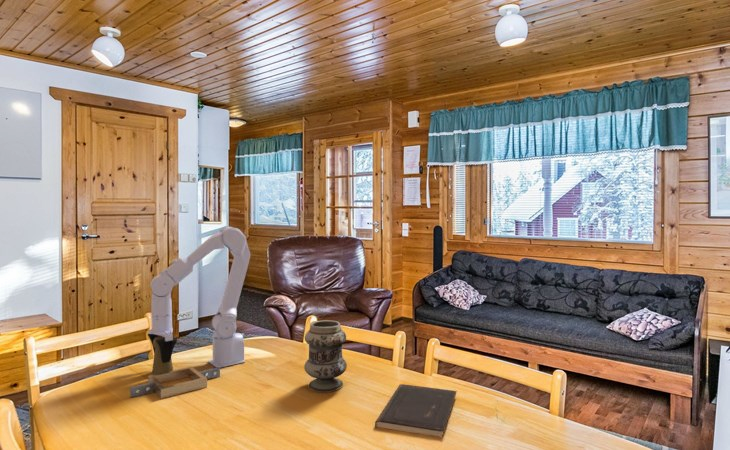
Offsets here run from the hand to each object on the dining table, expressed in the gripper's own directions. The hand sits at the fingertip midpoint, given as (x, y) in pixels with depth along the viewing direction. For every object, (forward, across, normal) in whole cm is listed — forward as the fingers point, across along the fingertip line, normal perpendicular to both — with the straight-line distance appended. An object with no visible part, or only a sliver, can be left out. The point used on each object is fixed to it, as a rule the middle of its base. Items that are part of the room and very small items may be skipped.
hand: (162, 358), depth 144 cm
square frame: (+4, +14, 0) cm, 15 cm away
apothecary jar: (+4, +40, +33) cm, 52 cm away
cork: (+4, 0, 0) cm, 4 cm away
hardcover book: (+5, +68, +42) cm, 80 cm away
